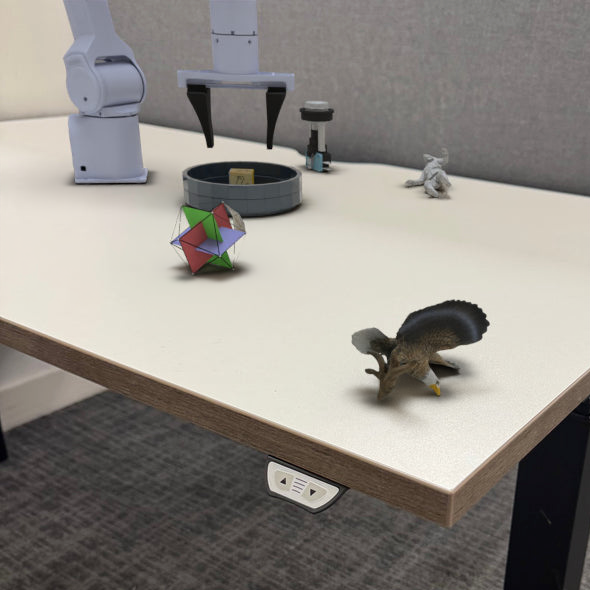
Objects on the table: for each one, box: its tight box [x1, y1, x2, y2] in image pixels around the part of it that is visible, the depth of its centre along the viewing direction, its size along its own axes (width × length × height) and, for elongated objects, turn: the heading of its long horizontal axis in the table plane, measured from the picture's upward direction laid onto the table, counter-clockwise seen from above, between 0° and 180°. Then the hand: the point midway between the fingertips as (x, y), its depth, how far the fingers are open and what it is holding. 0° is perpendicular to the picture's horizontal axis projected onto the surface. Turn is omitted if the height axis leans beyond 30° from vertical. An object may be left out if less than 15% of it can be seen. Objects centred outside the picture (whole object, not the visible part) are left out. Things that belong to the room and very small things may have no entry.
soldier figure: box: [404, 147, 452, 198], centre depth 116 cm, size 8×5×12 cm
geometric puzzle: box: [169, 202, 248, 275], centre depth 79 cm, size 7×7×8 cm
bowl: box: [181, 160, 303, 218], centre depth 103 cm, size 15×15×4 cm
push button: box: [298, 100, 335, 173], centre depth 123 cm, size 7×5×10 cm
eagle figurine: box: [351, 299, 491, 402], centre depth 57 cm, size 8×7×9 cm
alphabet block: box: [229, 169, 254, 185], centre depth 106 cm, size 3×3×3 cm
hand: (240, 147), depth 104 cm, fingers open, 7 cm apart
